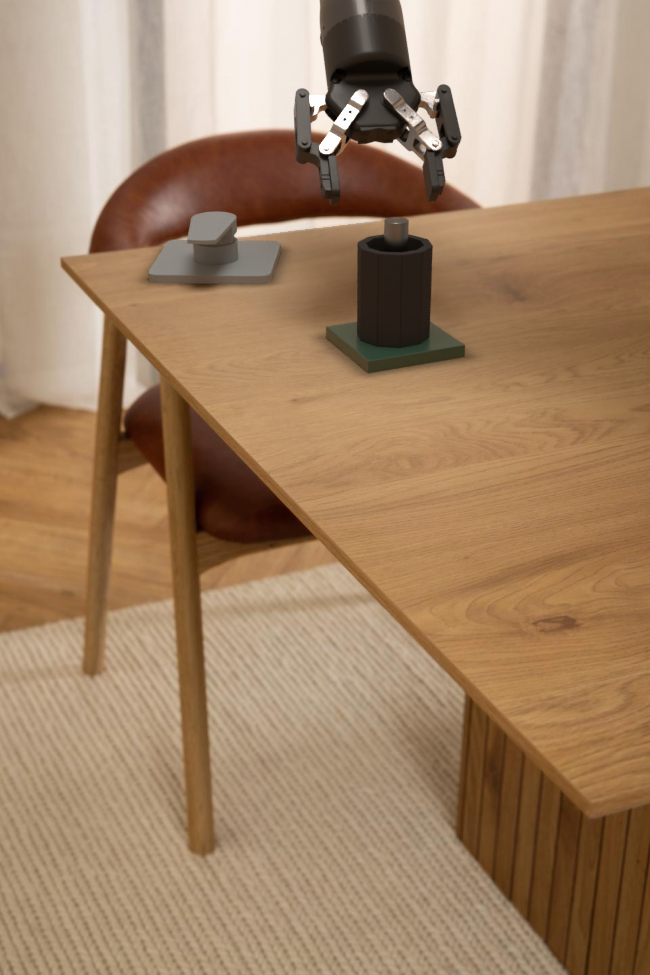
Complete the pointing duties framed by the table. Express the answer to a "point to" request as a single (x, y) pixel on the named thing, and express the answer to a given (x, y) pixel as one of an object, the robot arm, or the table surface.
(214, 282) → the shower valve
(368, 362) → the holder
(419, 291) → the faceted pencil cup
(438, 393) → the table surface
